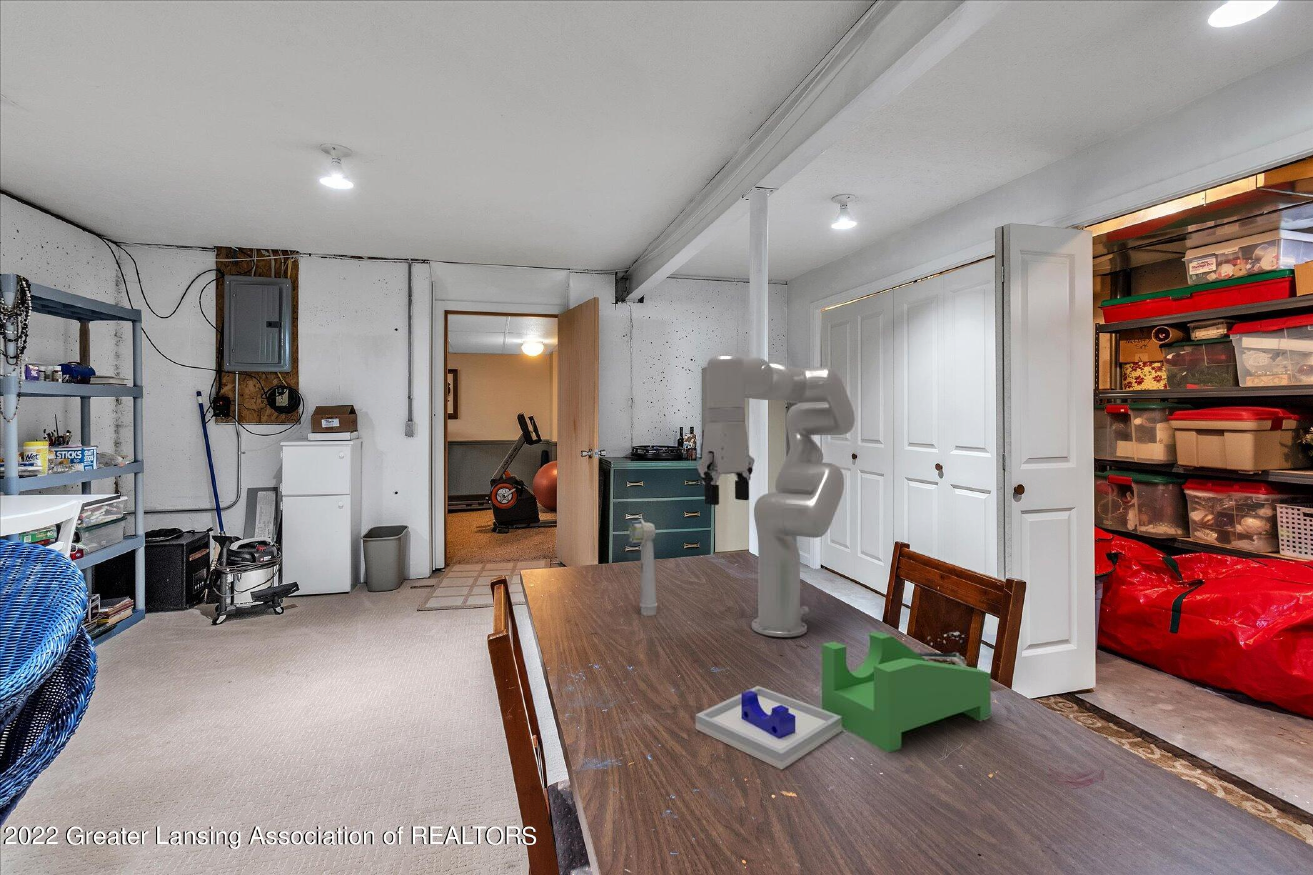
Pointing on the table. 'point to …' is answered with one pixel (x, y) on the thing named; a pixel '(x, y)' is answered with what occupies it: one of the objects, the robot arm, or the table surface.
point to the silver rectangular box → (945, 656)
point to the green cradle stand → (898, 690)
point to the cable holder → (767, 716)
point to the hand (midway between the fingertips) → (727, 502)
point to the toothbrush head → (645, 564)
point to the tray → (754, 741)
